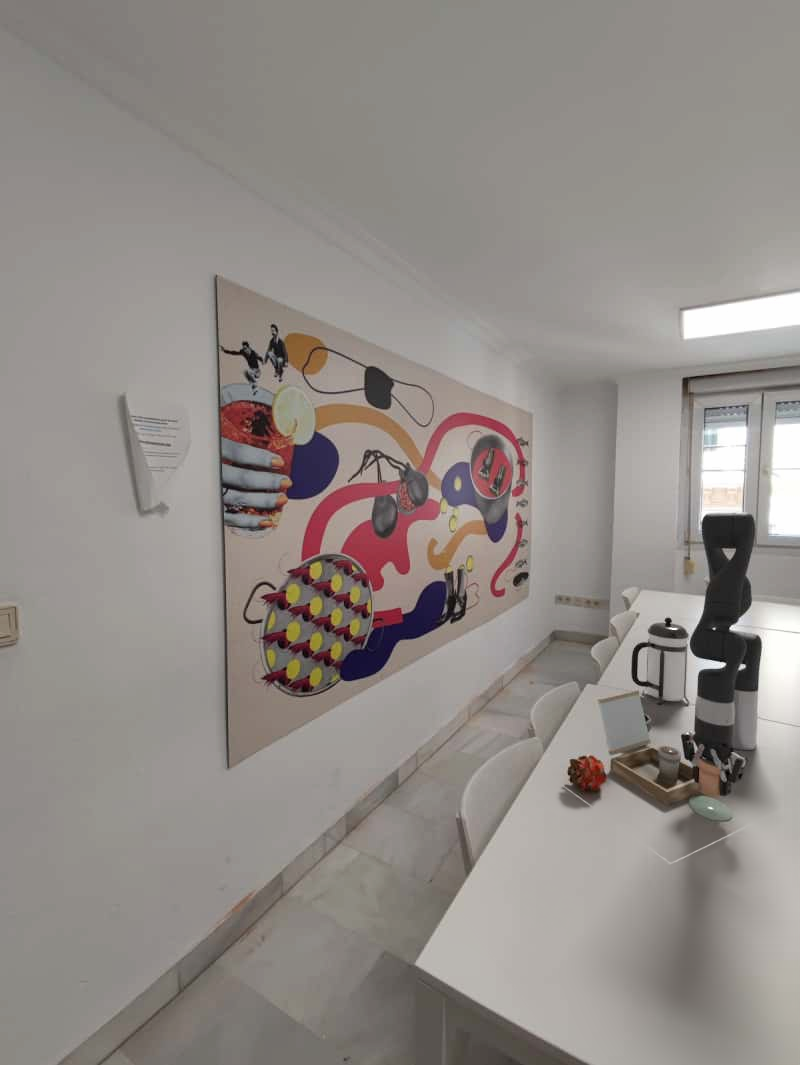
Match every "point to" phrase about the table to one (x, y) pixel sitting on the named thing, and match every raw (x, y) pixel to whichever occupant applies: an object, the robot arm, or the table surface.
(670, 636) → the coffee press
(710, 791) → the terracotta pot
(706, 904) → the table surface
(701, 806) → the saucer
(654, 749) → the box
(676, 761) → the grey pot
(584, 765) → the dragon fruit
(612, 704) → the lid
